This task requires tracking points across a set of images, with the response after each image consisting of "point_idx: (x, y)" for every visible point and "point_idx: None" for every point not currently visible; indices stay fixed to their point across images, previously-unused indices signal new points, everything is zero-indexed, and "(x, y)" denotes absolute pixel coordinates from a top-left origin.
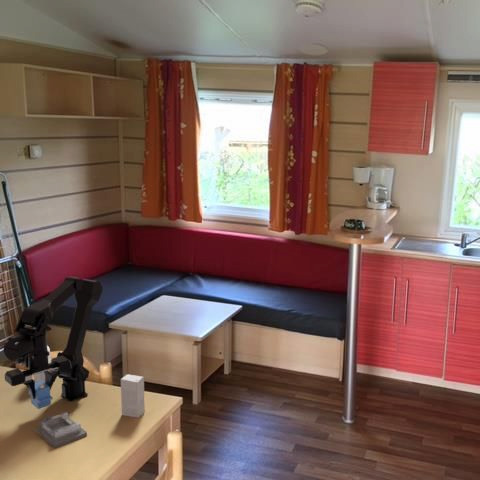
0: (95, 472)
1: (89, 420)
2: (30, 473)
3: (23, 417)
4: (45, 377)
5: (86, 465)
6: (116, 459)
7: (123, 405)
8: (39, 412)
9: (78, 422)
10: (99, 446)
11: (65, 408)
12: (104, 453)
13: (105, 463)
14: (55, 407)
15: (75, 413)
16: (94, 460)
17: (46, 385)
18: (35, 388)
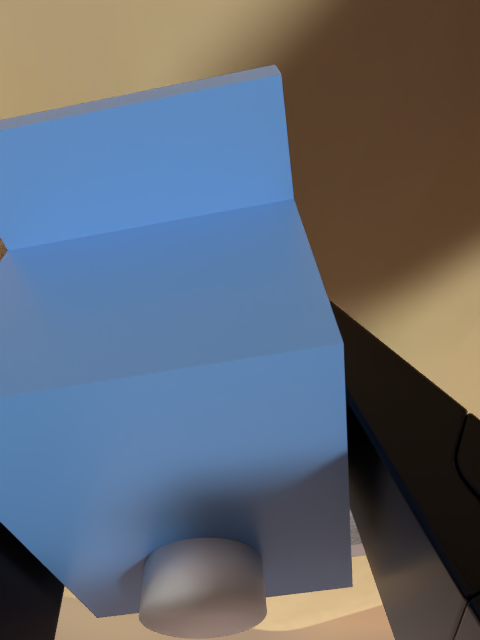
0: (276, 625)
1: (476, 398)
2: (69, 591)
3: (6, 101)
4: (457, 618)
5: (266, 605)
6: (366, 608)
7: None
8: (197, 75)
9: (362, 544)
10: (364, 559)
11: (468, 140)
12: (353, 585)
13: (325, 611)
14: (399, 48)
15: (472, 278)
16: (302, 597)
17: (324, 543)
18: (71, 572)
